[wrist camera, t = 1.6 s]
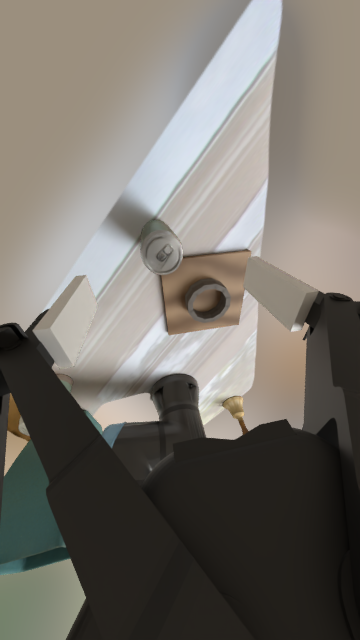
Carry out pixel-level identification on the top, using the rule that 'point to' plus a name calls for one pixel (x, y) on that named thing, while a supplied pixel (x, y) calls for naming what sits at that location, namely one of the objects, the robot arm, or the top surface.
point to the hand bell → (236, 410)
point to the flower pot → (29, 516)
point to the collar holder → (205, 292)
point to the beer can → (160, 248)
